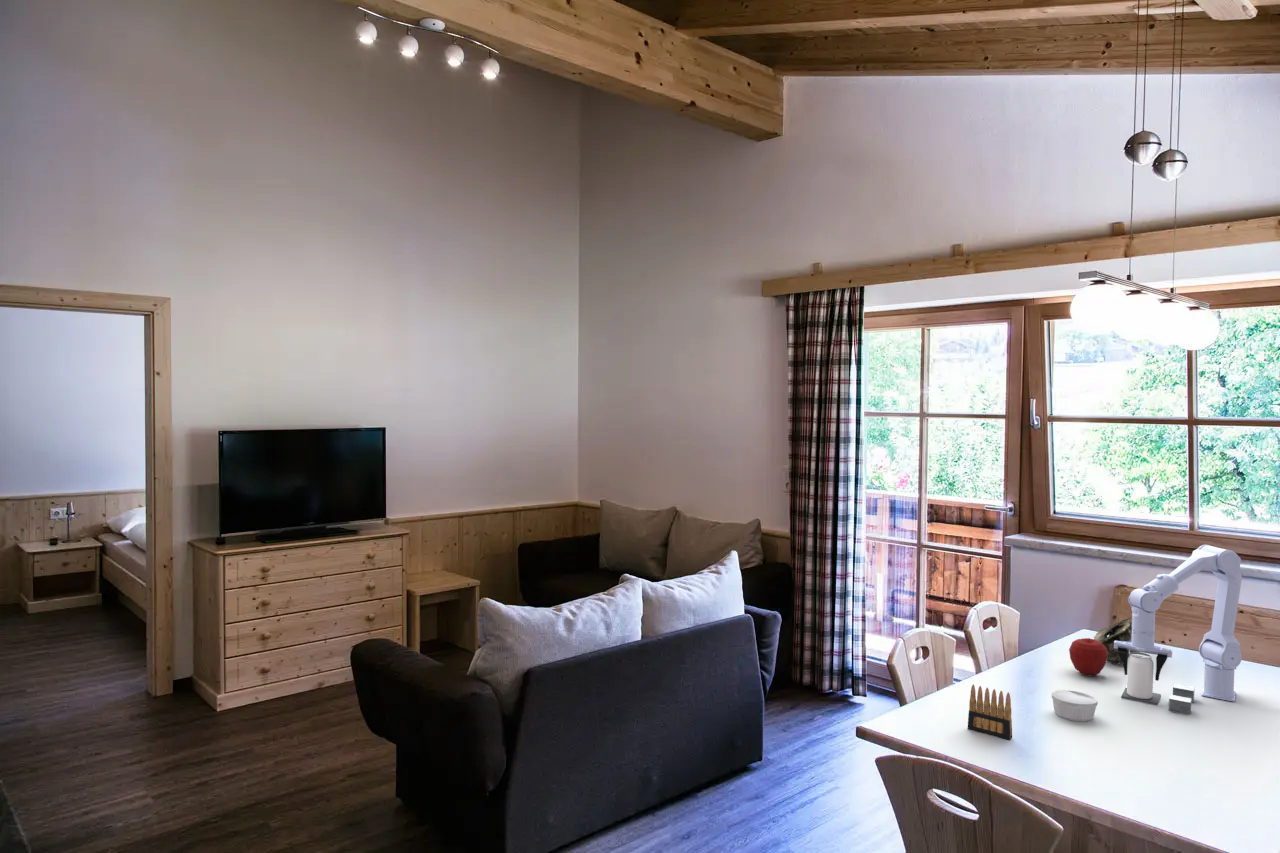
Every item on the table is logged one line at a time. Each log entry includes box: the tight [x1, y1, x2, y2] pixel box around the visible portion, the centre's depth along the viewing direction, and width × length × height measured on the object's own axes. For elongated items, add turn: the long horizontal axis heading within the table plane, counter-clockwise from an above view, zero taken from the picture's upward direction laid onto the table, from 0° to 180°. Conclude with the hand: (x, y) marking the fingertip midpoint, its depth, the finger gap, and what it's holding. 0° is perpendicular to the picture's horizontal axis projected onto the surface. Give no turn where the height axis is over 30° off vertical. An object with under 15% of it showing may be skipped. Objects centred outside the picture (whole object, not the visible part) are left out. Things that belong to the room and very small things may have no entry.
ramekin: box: [1051, 689, 1099, 722], centre depth 229 cm, size 11×11×5 cm
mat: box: [1120, 687, 1162, 706], centre depth 244 cm, size 9×9×1 cm
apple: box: [1068, 637, 1108, 677], centre depth 263 cm, size 11×11×12 cm
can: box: [1126, 652, 1154, 699], centre depth 243 cm, size 6×6×12 cm
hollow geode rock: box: [1093, 616, 1141, 665], centre depth 280 cm, size 28×13×15 cm
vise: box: [1168, 683, 1196, 716], centre depth 238 cm, size 17×5×4 cm, turn 143°
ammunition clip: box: [967, 684, 1013, 741], centre depth 216 cm, size 11×2×12 cm, turn 50°
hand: (1141, 676), depth 243 cm, fingers open, 7 cm apart
